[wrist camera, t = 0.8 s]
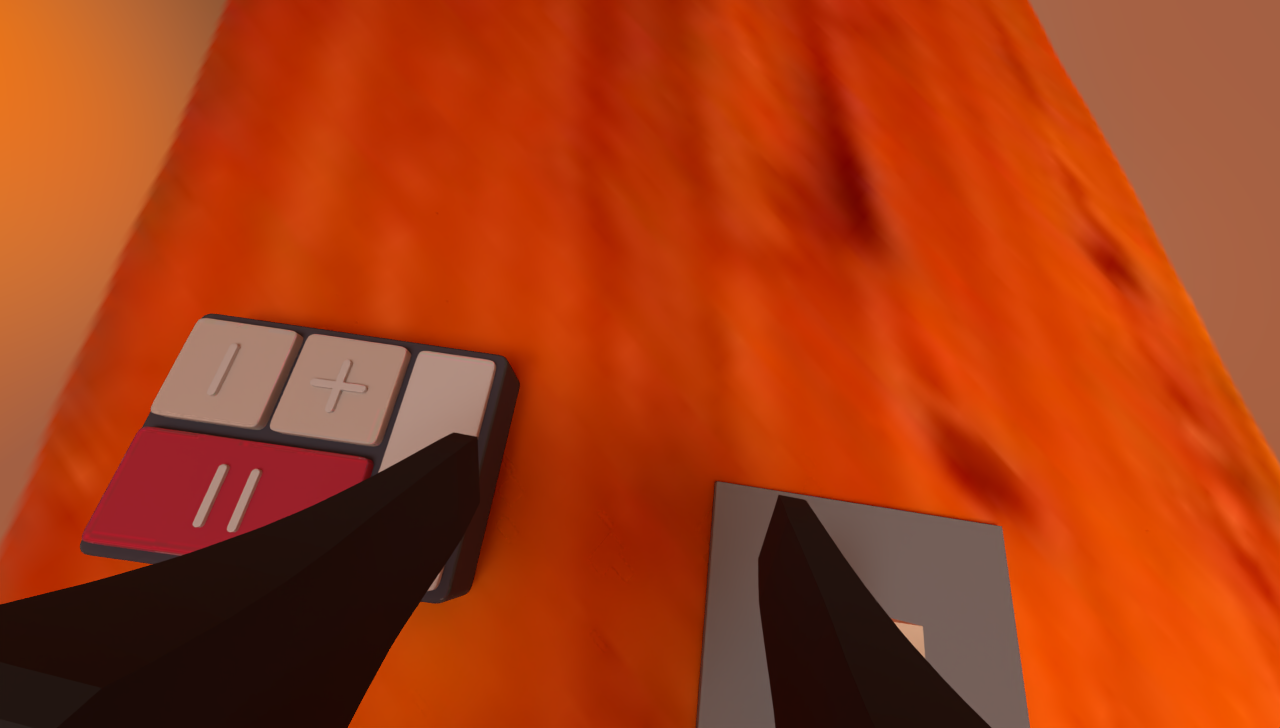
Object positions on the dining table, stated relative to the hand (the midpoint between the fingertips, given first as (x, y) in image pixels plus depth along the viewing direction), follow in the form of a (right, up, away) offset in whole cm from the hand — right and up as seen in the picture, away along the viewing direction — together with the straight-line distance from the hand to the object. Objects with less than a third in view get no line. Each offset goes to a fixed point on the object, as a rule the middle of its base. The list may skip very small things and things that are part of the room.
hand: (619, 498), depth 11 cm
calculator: (-14, -2, +13) cm, 19 cm away
